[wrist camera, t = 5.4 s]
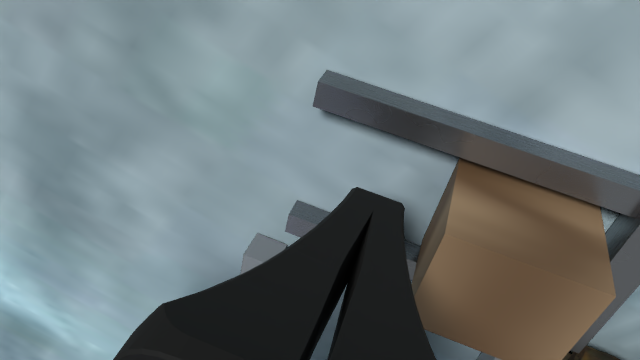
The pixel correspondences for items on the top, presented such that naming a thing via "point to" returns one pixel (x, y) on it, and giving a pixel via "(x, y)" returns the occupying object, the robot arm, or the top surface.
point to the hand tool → (591, 355)
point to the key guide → (497, 153)
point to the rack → (566, 356)
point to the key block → (512, 266)
